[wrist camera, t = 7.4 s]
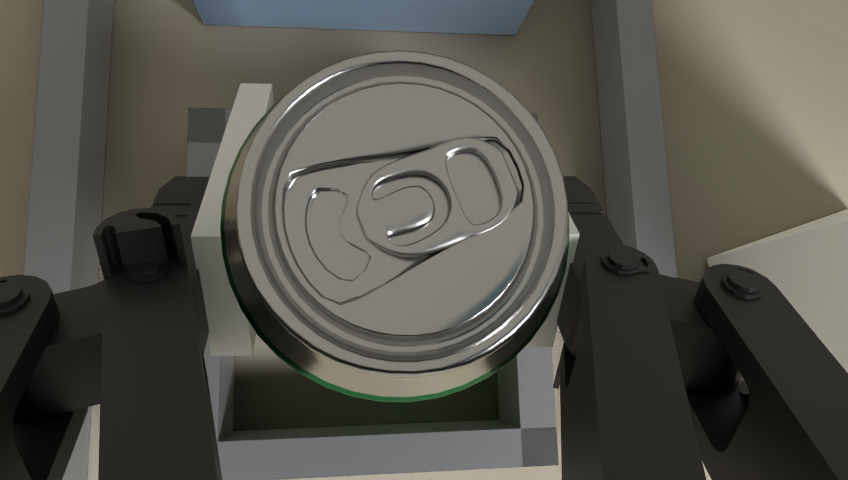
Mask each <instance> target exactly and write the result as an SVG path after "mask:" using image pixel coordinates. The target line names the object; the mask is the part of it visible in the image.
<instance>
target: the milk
mask: <svg viewBox="0 0 848 480" xmlns="http://www.w3.org/2000/svg"><path fill="white" fill-rule="evenodd" d="M707 263H708V266H709V267H711V266H713V265H719V264H731V265H739V266H743V267H745V268H746V267H747V268H750V269H752V270H754V271H756V272H758V273H760V274H761V275H763V276H765V277H767V278H768V279H769V280H770V281H771V282H772V283H773V284H774V285H776V287H777V288H778V289H779V290H780V291H781V293H782V294H783V295H784V296H785V297H786V299H787V300H788V301H789V302H790V304H791V305H792V306H793V307H794V308H795V310H796V311H797V312H798V313H799V315H800V316H801V317H802V318H803V319H804V321H805V322H806V323H807V324H808V325H809V327H810V328H811V329H812V330H813V332H814V333H815V334H816V335H817V336H818V338H819V339H820V340H821V341H822V343H823V344H824V345H825V346H826V347H827V349H828V350H829V351H830V352H831V353H832V355H833V356H834V357H835V358H836V360H837V361H838V362H839V363H840V364H841V366H842V367H843V368H844V369H845V371H846V372H847V373H848V209H846V210H843V211H840V212H838V213H835V214H832V215H829V216H826V217H823V218H820V219H817V220H814V221H812V222H809V223H806V224H803V225H800V226H797V227H794V228H791V229H789V230H786V231H783V232H780V233H777V234H774V235H771V236H768V237H766V238H763V239H760V240H757V241H754V242H751V243H748V244H745V245H742V246H740V247H737V248H734V249H731V250H728V251H725V252H722V253H719V254H717V255H714V256H711V257H709V258H708V259H707Z"/></svg>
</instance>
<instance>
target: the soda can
mask: <svg viewBox="0 0 848 480" xmlns="http://www.w3.org/2000/svg"><path fill="white" fill-rule="evenodd" d="M220 234H221V245H222V256H223V260H224V264H225V268H226V272H227V276H228V280H229V284H230V286H231V288H232V290H233V293H234V295H235V297H236V299H237V302H238V304H239V306H240V308H241V311H242V312H243V314H244V315H245V317H246V318H247V320H248V321H249V323H250V324H251V326H252V327H253V329H254V330H255V332H256V333H257V335H258V336H259V337H260V338H261V339H262V340H263V341H264V342H265V343H266V344H267V345H268V347H269V348H270V349H271V350H272V351H273V352H274V353H275V354H276V355H277V356H278V357H279V358H281V359H282V360H283V361H284V362H286V363H287V364H288V365H290V366H291V367H292V368H293V369H295V370H296V371H297V372H299V373H300V374H302V375H304V376H306V377H307V378H309V379H311V380H313V381H315V382H317V383H318V384H320V385H322V386H324V387H326V388H329V389H332V390H335V391H337V392H340V393H343V394H346V395H349V396H352V397H357V398H362V399H368V400H374V401H379V402H414V401H421V400H428V399H434V398H439V397H442V396H445V395H449V394H452V393H455V392H458V391H461V390H464V389H466V388H468V387H470V386H472V385H474V384H476V383H478V382H480V381H482V380H484V379H486V378H488V377H490V376H491V375H492V374H494V373H495V372H497V371H498V370H499V369H501V368H502V367H503V366H505V365H506V364H507V363H509V362H510V361H512V360H513V359H514V358H515V357H516V356H517V355H518V353H519V352H520V351H521V350H522V349H523V348H524V347H525V346H526V345H527V344H528V343H529V342H530V341H531V340H532V339H533V337H534V336H535V334H536V333H537V331H538V330H539V329H540V327H541V326H542V324H543V323H544V322H545V320H546V319H547V317H548V315H549V313H550V311H551V308H552V306H553V304H554V302H555V300H556V298H557V296H558V294H559V290H560V287H561V284H562V281H563V277H564V274H565V271H566V265H567V258H568V251H569V214H568V200H567V195H566V189H565V183H564V177H563V174H562V171H561V168H560V165H559V162H558V159H557V156H556V154H555V152H554V150H553V148H552V146H551V144H550V142H549V140H548V138H547V136H546V134H545V132H544V131H543V129H542V128H541V126H540V125H539V124H538V122H537V121H536V119H535V118H534V117H533V115H532V114H531V112H530V111H529V110H528V109H527V108H526V107H525V106H524V105H523V104H522V103H521V102H520V101H519V100H518V99H517V98H516V97H515V96H514V95H513V94H512V93H511V92H510V91H508V90H507V89H506V88H504V87H503V86H502V85H501V84H499V83H498V82H497V81H495V80H494V79H493V78H491V77H489V76H487V75H486V74H484V73H482V72H480V71H478V70H477V69H475V68H473V67H471V66H469V65H466V64H463V63H461V62H458V61H456V60H453V59H450V58H447V57H443V56H438V55H434V54H430V53H425V52H414V51H401V50H397V51H384V52H373V53H368V54H364V55H359V56H355V57H351V58H348V59H345V60H343V61H340V62H338V63H335V64H332V65H330V66H327V67H325V68H324V69H322V70H320V71H318V72H317V73H315V74H313V75H312V76H310V77H308V78H306V79H305V80H303V81H302V82H301V83H300V84H299V85H297V86H296V87H295V88H294V89H292V90H291V91H290V92H289V93H288V94H286V95H285V96H284V97H283V98H281V99H280V100H279V101H278V102H277V103H275V104H274V105H273V106H272V107H271V108H270V109H269V110H268V111H267V112H266V113H265V115H264V116H263V117H262V118H261V119H260V120H259V121H258V122H257V124H256V125H255V126H254V127H253V129H252V130H251V132H250V133H249V135H248V137H247V138H246V140H245V141H244V143H243V144H242V146H241V148H240V149H239V152H238V154H237V156H236V159H235V161H234V163H233V166H232V168H231V170H230V172H229V175H228V179H227V183H226V188H225V192H224V196H223V200H222V210H221V223H220Z"/></svg>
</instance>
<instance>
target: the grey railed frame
mask: <svg viewBox="0 0 848 480" xmlns="http://www.w3.org/2000/svg"><path fill="white" fill-rule="evenodd" d="M193 1H194V3H195V6H196V8H197V10H198V13H199V15H200V18H201V20H202V22H203V25H228V26H258V27H287V28H317V29H347V30H376V31H406V32H436V33H466V34H495V35H516V34H517V32H518V30H519V28H520V26H521V24H522V23H523V21H524V19H525V17H526V15H527V13H528V12H529V10H530V8H531V6H532V4H533V2H534V1H535V0H193ZM113 7H114V0H44V8H43V21H42V34H41V48H40V61H39V75H38V88H37V101H36V115H35V128H34V141H33V155H32V168H31V181H30V195H29V208H28V221H27V235H26V248H25V262H24V275H28V276H36V277H38V278H41V279H43V280H45V281H47V283H48V284H49V286H50V288H51V289H52V292H53V294H56V293H61V292H65V291H70V290H75V289H79V288H84V287H87V286H91V285H94V284H97V283H98V277H99V258H98V254H97V250H96V247H95V243H94V239H93V234H94V232H95V229H96V227H97V226H98V225H99V224H101V223H102V205H103V187H104V169H105V151H106V133H107V115H108V97H109V79H110V61H111V43H112V25H113ZM591 11H592V24H593V37H594V50H595V63H596V76H597V89H598V102H599V116H600V129H601V142H602V155H603V168H604V181H605V194H606V207H607V217H608V219H609V221H610V222H611V224H612V226H613V227H614V229H615V231H616V232H617V234H618V236H619V237H620V239H621V241H622V242H623V244H624V245H626V246H630V247H633V248H635V249H637V250H639V251H641V252H644V253H645V254H646V255H647V256H649V257H650V258H651V259H652V260H653V261H654V262H655V264H656V266H657V268H658V271H659V274H662V275H666V276H669V277H674V278H678V277H677V267H676V256H675V245H674V235H673V224H672V213H671V202H670V192H669V181H668V170H667V160H666V149H665V138H664V127H663V117H662V106H661V95H660V85H659V74H658V63H657V53H656V42H655V31H654V20H653V10H652V0H591ZM231 111H232V109H219V108H189V112H188V142H187V171H186V177H210V175H211V172H212V169H213V166H214V163H215V160H216V157H217V154H218V151H219V148H220V145H221V142H222V139H223V135H224V132H225V129H226V126H227V123H228V120H229V117H230V114H231ZM532 115H533V117H534V118H535V119H536V121H537V122H538V115H537V114H532ZM204 359H205V365H206V370H207V377H208V384H209V391H210V398H211V405H212V412H213V418H214V425H215V432H216V439H217V446H218V453H219V460H220V467H221V474H222V480H277V479H297V478H316V477H335V476H355V475H374V474H394V473H413V472H432V471H452V470H471V469H490V468H510V467H529V466H549V465H558V449H557V433H556V416H555V399H554V388H553V385H554V383H553V366H552V349H551V347H530V348H523V349H522V350H521V351H520V352H519V353H518V355H517V356H516V357H515V358H514V359H513V360H512V361H510V362H509V363H507V364H506V365H505V366H503V367H502V368H501V369H499V370H498V371H497V385H498V407H499V420H481V421H457V422H433V423H409V424H385V425H362V426H338V427H314V428H290V429H267V430H243V431H233V418H234V368H235V356H211V353H210V347H209V341H208V339H207V343H206V347H205V351H204ZM90 421H91V406H90V407H88V412H87V415H86V417H85V420H84V423H83V425H82V428H81V431H80V433H79V436H78V439H77V441H76V444H75V447H74V449H73V452H72V455H71V457H70V460H69V463H68V465H67V468H66V471H65V473H64V476H63V479H62V480H87V475H88V457H89V439H90Z"/></svg>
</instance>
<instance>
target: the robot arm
mask: <svg viewBox="0 0 848 480" xmlns="http://www.w3.org/2000/svg"><path fill="white" fill-rule="evenodd" d="M273 105H274V102H273V89H272V84H258V83H240V86H239V89H238V92H237V95H236V99H235V102H234V105H233V108H232V111H231V114H230V117H229V120H228V123H227V126H226V129H225V132H224V135H223V139H222V142H221V145H220V148H219V151H218V154H217V157H216V160H215V163H214V166H213V169H212V172H211V175H210V177H174V178H173V179H171V180H170V181H169V182H168V183H166V184H165V185H164V186H163V187H161V188H160V189H159V191H158V194H157V196H156V198H155V200H154V203H153V206H152V207H151V208H145V209H133V210H129V211H124V212H120V213H118V214H116V215H113V216H111V217H109V218H107V219H105V220H104V221H103V222H102V223H101V224H99V225H98V226H97V227H96V229H95V232H94V234H93V239H94V243H95V247H96V250H97V254H98V258H99V261H100V265H101V269H102V272H103V276H104V281H102V282H99V283H97V284H94V285H91V286H87V287H84V288H79V289H75V290H70V291H65V292H61V293H56V294H53V292H52V289H51V288H50V286H49V284H48V283H47V281H45V280H43V279H41V278H38V277H36V276H28V275H15V276H7V277H1V278H0V480H62V479H63V476H64V473H65V471H66V468H67V465H68V463H69V460H70V457H71V455H72V452H73V449H74V447H75V444H76V441H77V439H78V436H79V433H80V431H81V428H82V425H83V423H84V420H85V417H86V415H87V412H88V407H90V406H93V405H97V404H100V439H99V477H98V480H222V474H221V467H220V460H219V453H218V446H217V439H216V432H215V425H214V418H213V412H212V405H211V398H210V391H209V384H208V377H207V370H206V365H205V359H204V351H205V347H206V343H207V339H208V341H209V347H210V353H211V356H243V355H253V349H254V342H255V336H256V332H255V330H254V329H253V327H252V326H251V324H250V323H249V321H248V320H247V318H246V317H245V315H244V314H243V312H242V311H241V308H240V306H239V304H238V302H237V299H236V297H235V295H234V293H233V290H232V288H231V286H230V284H229V280H228V276H227V272H226V268H225V264H224V260H223V256H222V245H221V234H220V223H221V210H222V200H223V196H224V192H225V188H226V183H227V179H228V175H229V172H230V170H231V168H232V166H233V163H234V161H235V159H236V156H237V154H238V152H239V149H240V148H241V146H242V144H243V143H244V141H245V140H246V138H247V137H248V135H249V133H250V132H251V130H252V129H253V127H254V126H255V125H256V124H257V122H258V121H259V120H260V119H261V118H262V117H263V116H264V115H265V113H266V112H267V111H268V110H269V109H270V108H271V107H272V106H273ZM563 177H564V183H565V189H566V195H567V200H568V214H569V251H568V258H567V265H566V271H565V274H564V277H563V281H562V284H561V287H560V290H559V294H558V296H557V298H556V300H555V302H554V304H553V306H552V308H551V311H550V313H549V315H548V317H547V319H546V320H545V322H544V323H543V324H542V326H541V327H540V329H539V330H538V331H537V333H536V334H535V336H534V337H533V339H532V340H531V341H530V342H529V343H528V344H527V345H526V346H525V347H524V348H530V347H553V343H554V339H555V335H556V331H557V326H558V327H559V329H560V332H561V334H562V337H563V339H564V345H563V349H562V353H561V357H560V361H559V365H558V369H557V373H556V377H555V381H554V385H553V388H557V389H558V388H559V385H560V403H561V454H562V480H706V477H705V473H704V468H703V464H702V461H703V463H704V465H705V467H706V469H707V471H708V473H709V475H710V477H711V479H712V480H848V373H847V372H846V371H845V369H844V368H843V367H842V366H841V364H840V363H839V362H838V361H837V360H836V358H835V357H834V356H833V355H832V353H831V352H830V351H829V350H828V349H827V347H826V346H825V345H824V344H823V343H822V341H821V340H820V339H819V338H818V336H817V335H816V334H815V333H814V332H813V330H812V329H811V328H810V327H809V325H808V324H807V323H806V322H805V321H804V319H803V318H802V317H801V316H800V315H799V313H798V312H797V311H796V310H795V308H794V307H793V306H792V305H791V304H790V302H789V301H788V300H787V299H786V297H785V296H784V295H783V294H782V293H781V291H780V290H779V289H778V288H777V287H776V285H774V284H773V283H772V282H771V281H770V280H769V279H768V278H767V277H765V276H763V275H761V274H760V273H758V272H756V271H754V270H752V269H750V268H747V267H746V268H745V267H743V266H739V265H731V264H719V265H713V266H711V267H709V268H708V269H706V270H705V272H704V275H703V277H702V280H701V282H694V281H689V280H684V279H679V278H674V277H669V276H666V275H662V274H659V271H658V268H657V266H656V264H655V262H654V261H653V260H652V259H651V258H650V257H649V256H647V255H646V254H645V253H644V252H641V251H639V250H637V249H635V248H633V247H630V246H626V245H624V244H623V242H622V241H621V239H620V237H619V236H618V234H617V232H616V231H615V229H614V227H613V226H612V224H611V222H610V221H609V219H608V217H607V216H606V215H604V211H603V209H602V207H601V206H600V204H598V201H597V199H596V197H595V196H594V194H593V192H592V190H591V189H590V188H589V187H588V186H587V185H585V184H584V183H582V182H581V181H580V180H578V179H577V178H576V177H574V176H563ZM743 378H744V380H745V383H746V385H747V386H746V385H745V383H744V381H743V380H742V379H743Z"/></svg>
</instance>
